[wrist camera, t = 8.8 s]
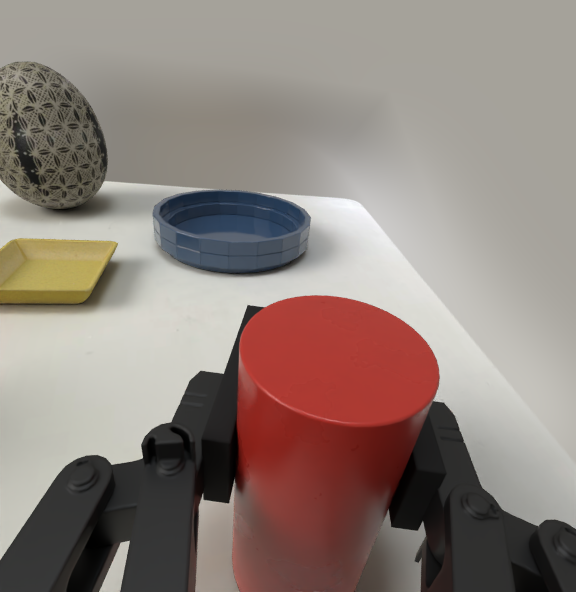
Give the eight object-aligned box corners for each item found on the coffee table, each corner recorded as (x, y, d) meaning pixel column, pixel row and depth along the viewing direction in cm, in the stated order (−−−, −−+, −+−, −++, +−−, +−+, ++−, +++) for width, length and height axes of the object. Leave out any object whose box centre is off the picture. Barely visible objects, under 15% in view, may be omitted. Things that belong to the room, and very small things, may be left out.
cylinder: (354, 499, 16) (416, 306, 11) (363, 643, 12) (470, 441, 7) (245, 483, 16) (257, 285, 11) (217, 620, 12) (216, 406, 7)
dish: (309, 226, 48) (312, 199, 46) (302, 286, 34) (306, 251, 32) (185, 210, 48) (184, 183, 47) (128, 264, 34) (123, 228, 33)
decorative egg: (101, 226, 41) (74, 68, 34) (-19, 222, 39) (-76, 53, 32) (123, 195, 51) (106, 67, 44) (28, 190, 49) (-7, 55, 41)
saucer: (95, 313, 27) (90, 289, 26) (-38, 313, 26) (-50, 287, 25) (122, 262, 35) (119, 241, 34) (19, 259, 33) (13, 237, 32)
